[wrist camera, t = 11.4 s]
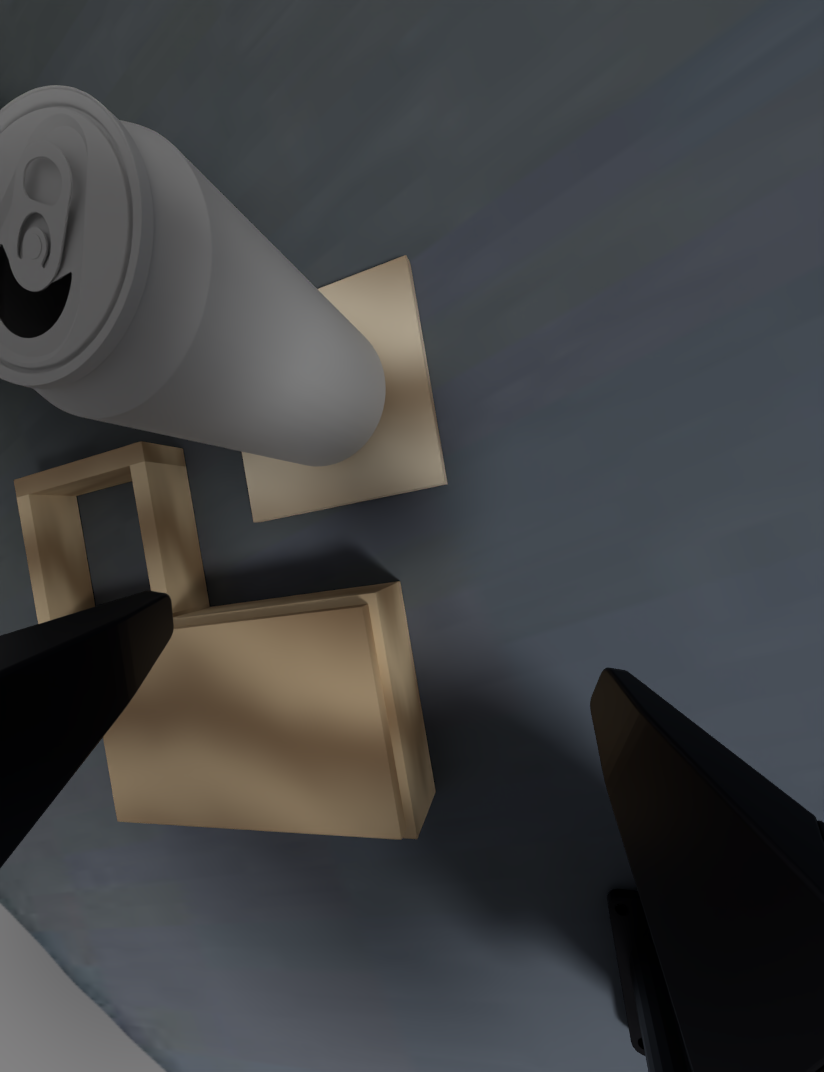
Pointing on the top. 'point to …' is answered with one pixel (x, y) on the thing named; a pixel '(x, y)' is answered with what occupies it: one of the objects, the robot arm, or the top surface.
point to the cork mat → (406, 422)
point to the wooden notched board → (242, 677)
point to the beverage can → (164, 296)
